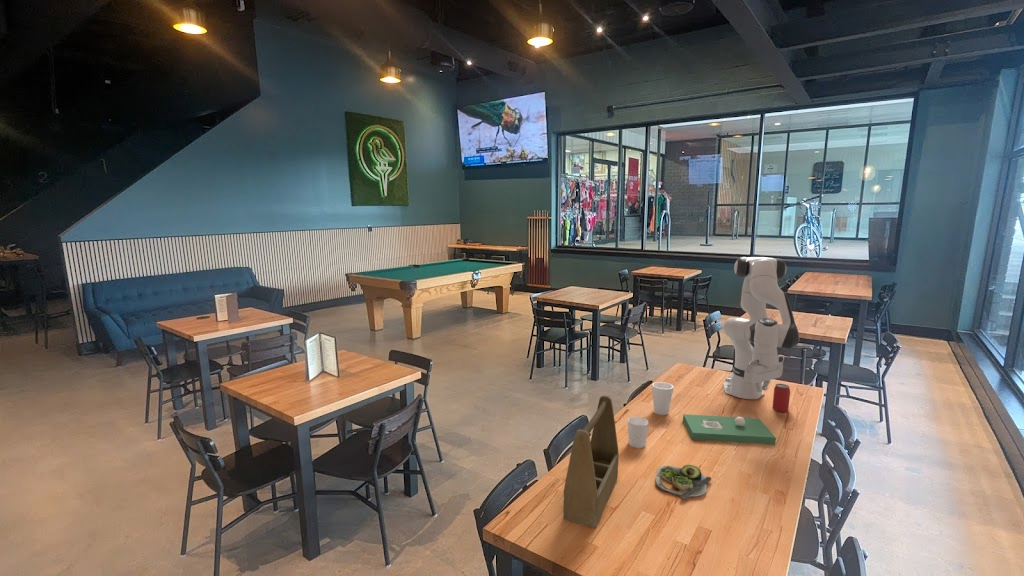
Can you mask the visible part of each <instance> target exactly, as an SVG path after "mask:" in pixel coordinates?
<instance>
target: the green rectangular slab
mask: <svg viewBox="0 0 1024 576" xmlns="http://www.w3.org/2000/svg"><path fill="white" fill-rule="evenodd" d="M737 417H738V416H722V415H705V414H703V415H702V414H687V413H686V414H682V421H683V424H684V425H685V427H686V430H687V431H688V434H689V435H690V437H691V439H692V440H693V441H694V440H695V441H696V440H697V441H711V442H712V441H713V442H725V443H727V442H729V443H740V444H741V443H743V444H759V445H776V442H777V441H776V440H777V437H776V435H774V433H773V432H772V431H771V430H770V429H769V428H768V426H766V424H765V423H764V422H763V421H762V420H761V419H760V418H757V417H742V416H741V417H742V418H744V420H745V425H744V426H737V425H736V424H735V418H737Z"/></svg>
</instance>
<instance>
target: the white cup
mask: <svg viewBox="0 0 1024 576" xmlns="http://www.w3.org/2000/svg"><path fill="white" fill-rule="evenodd" d="M648 431H649V420H648V419H646V418H645V417H641V416H631V417H629V418H628V419H627V437H628V445H629V446H630V447H632V448H636V449H643V448H645V447H646V446H647V445H646V444H647V437H648Z"/></svg>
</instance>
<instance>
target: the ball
mask: <svg viewBox="0 0 1024 576" xmlns="http://www.w3.org/2000/svg"><path fill="white" fill-rule="evenodd" d="M736 417H737V418H735V424H736V425H737V426H744V425H745V420H744V418H745V417H743V418H742V416H736Z"/></svg>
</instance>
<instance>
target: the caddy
mask: <svg viewBox="0 0 1024 576" xmlns="http://www.w3.org/2000/svg"><path fill="white" fill-rule="evenodd" d="M591 432H592V433H591ZM590 433H591V438H590ZM619 457H620V456H619V446H618V438H617V428H616V421H615V414H614V406H613V399H612V398H611V397H610V396H609V395H601V396H600V398H599V401H598V404H597V409H596V411H595V413H594V415H593V416H592V418H590V420H589V421H588V423H587V424H586V426H585V427H584V429H577V430H576V432H575V434H574V437H573V442H572V446H571V450H570V458H569V463H568V466H567V467H568V468H567V472H566V476H565V477H566V478H565V483H564V489H563V517H562V518H563V520H565V521H567V522H572V523H575V524H579V525H582V526H586V527H590V528H593V529H597V527H598V525H599V522H600V520H601V517H602V515H603V512H604V510H605V508H606V505H607V503H608V501H609V499H610V496H611V494H612V493H613V490H614V487H615V485H616V482H617V481H618V476H619Z"/></svg>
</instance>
